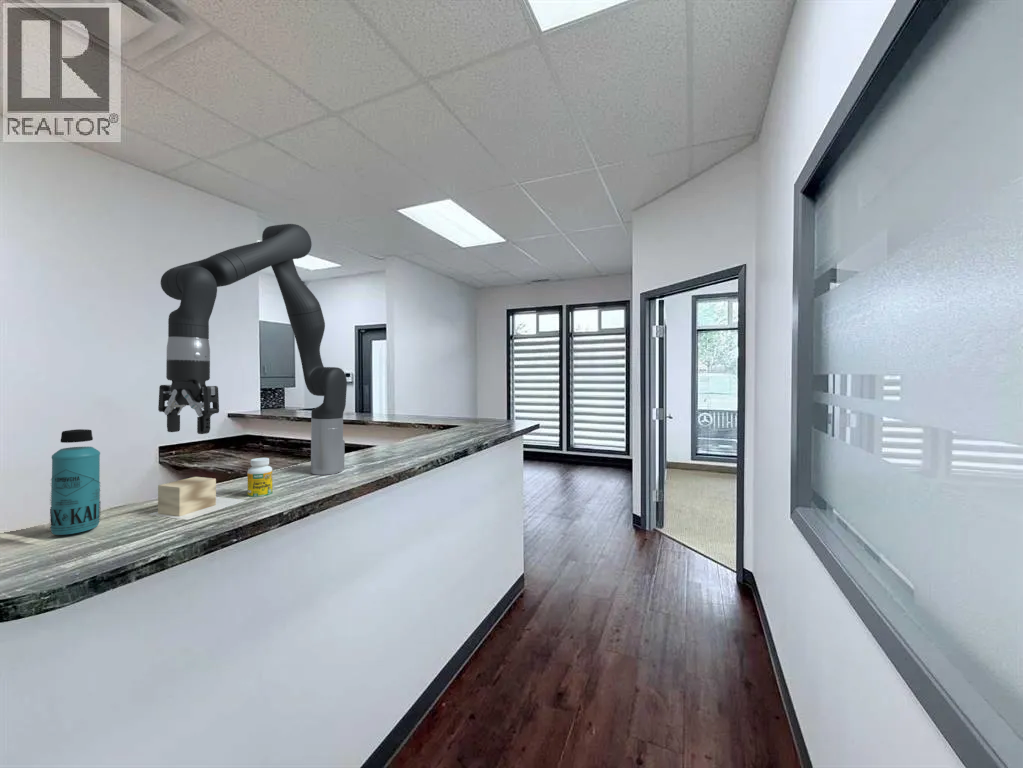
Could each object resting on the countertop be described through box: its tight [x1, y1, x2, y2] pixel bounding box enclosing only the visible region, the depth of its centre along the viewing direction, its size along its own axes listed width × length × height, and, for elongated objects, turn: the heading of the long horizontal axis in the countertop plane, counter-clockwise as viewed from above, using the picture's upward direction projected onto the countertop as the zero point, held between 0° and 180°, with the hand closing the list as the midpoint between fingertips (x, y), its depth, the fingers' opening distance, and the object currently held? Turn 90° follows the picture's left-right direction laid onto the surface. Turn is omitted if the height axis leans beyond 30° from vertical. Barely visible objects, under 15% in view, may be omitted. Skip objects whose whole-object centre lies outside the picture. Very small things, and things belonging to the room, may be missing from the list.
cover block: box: [157, 476, 217, 516], centre depth 91 cm, size 8×6×6 cm
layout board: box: [148, 496, 248, 521], centre depth 92 cm, size 14×11×1 cm
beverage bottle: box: [49, 428, 102, 536], centre depth 77 cm, size 6×7×20 cm
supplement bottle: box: [246, 457, 273, 498], centre depth 103 cm, size 5×5×10 cm
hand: (188, 432), depth 90 cm, fingers open, 8 cm apart
